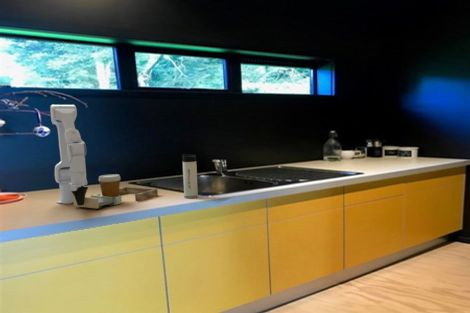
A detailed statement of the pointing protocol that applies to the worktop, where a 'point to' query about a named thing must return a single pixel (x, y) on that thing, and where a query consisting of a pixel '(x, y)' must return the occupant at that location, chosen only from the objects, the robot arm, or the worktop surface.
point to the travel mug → (190, 176)
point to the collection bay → (139, 192)
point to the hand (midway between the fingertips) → (80, 205)
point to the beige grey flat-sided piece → (99, 201)
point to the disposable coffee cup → (110, 185)
